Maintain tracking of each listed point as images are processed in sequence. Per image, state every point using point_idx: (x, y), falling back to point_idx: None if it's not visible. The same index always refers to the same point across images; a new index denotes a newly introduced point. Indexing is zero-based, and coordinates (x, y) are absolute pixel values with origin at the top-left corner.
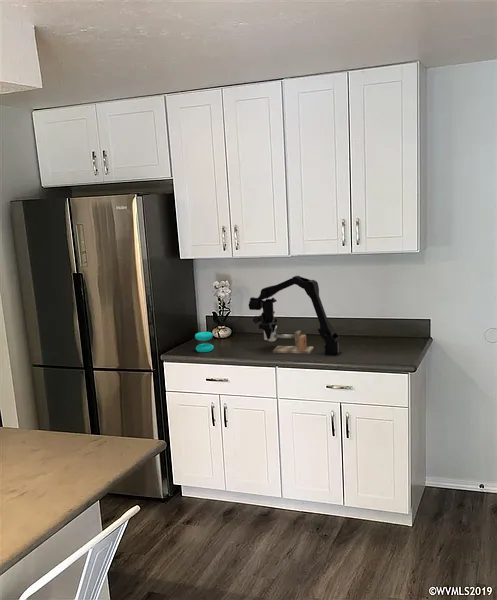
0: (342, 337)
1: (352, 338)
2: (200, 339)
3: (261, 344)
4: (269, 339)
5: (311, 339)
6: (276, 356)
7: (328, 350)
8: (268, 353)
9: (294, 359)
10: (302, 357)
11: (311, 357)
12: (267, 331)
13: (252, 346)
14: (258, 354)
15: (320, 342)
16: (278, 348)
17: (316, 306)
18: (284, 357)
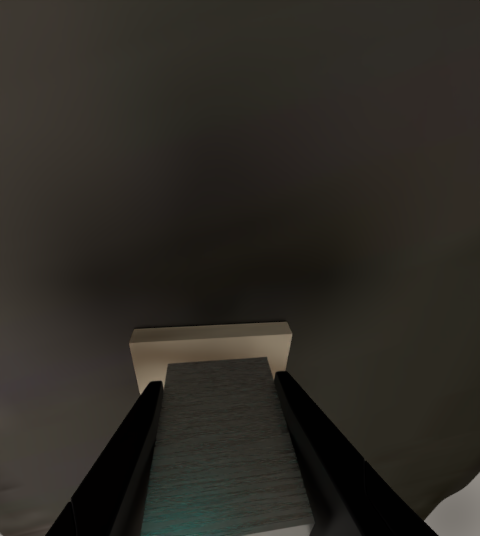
0: (438, 481)
1: (409, 502)
2: None
3: (456, 131)
4: (164, 393)
5: (456, 415)
6: (27, 379)
7: None
8: (96, 302)
9: (10, 470)
10: (74, 481)
11: None
12: None
13: (395, 16)
14: (17, 221)
15: (380, 455)
16: (204, 360)
17: None
18: (27, 423)
